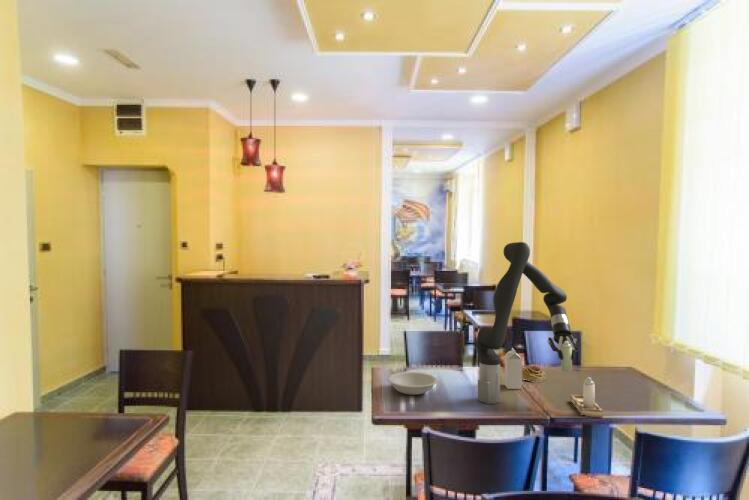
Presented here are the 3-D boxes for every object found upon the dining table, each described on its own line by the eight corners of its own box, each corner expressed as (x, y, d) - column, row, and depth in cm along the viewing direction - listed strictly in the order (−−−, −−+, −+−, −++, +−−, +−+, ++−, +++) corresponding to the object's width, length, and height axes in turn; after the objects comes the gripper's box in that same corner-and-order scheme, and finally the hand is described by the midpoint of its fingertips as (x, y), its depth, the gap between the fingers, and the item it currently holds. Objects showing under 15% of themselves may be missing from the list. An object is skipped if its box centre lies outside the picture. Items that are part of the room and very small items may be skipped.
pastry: (530, 384, 230) (530, 368, 230) (513, 375, 244) (513, 361, 244) (552, 381, 233) (552, 366, 233) (534, 373, 248) (534, 359, 248)
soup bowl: (435, 403, 201) (436, 388, 201) (383, 399, 206) (383, 384, 206) (439, 386, 225) (439, 373, 225) (391, 383, 230) (391, 370, 230)
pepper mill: (568, 371, 194) (568, 342, 194) (558, 369, 198) (558, 340, 198) (573, 370, 197) (573, 341, 197) (564, 367, 201) (564, 339, 200)
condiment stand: (602, 417, 185) (602, 410, 185) (582, 416, 186) (582, 408, 186) (589, 402, 203) (589, 395, 203) (570, 401, 204) (570, 394, 204)
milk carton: (518, 385, 227) (519, 347, 227) (522, 389, 220) (522, 351, 220) (504, 384, 228) (504, 347, 228) (507, 389, 221) (507, 350, 220)
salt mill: (591, 410, 187) (591, 379, 187) (581, 406, 191) (581, 376, 191) (596, 407, 190) (596, 377, 190) (586, 404, 193) (586, 375, 193)
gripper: (545, 321, 206) (551, 354, 194) (578, 321, 203) (587, 355, 192) (543, 330, 211) (549, 363, 199) (575, 331, 209) (583, 364, 197)
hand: (567, 359), depth 195 cm, fingers closed on pepper mill, 4 cm apart
